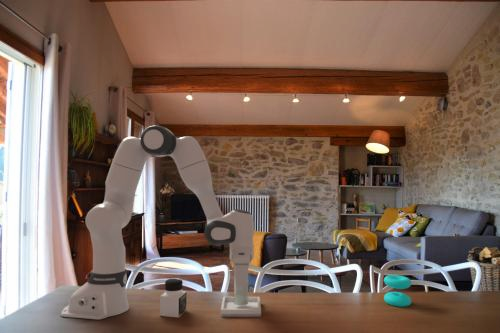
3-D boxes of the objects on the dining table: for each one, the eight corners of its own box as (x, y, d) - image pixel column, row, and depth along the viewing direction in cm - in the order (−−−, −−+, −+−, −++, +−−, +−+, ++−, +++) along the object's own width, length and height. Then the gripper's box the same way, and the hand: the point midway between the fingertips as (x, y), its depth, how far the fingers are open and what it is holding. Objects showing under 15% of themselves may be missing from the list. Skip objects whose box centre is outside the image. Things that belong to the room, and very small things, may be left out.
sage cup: (233, 305, 134) (234, 279, 135) (234, 300, 140) (234, 276, 140) (248, 305, 135) (248, 279, 135) (248, 300, 140) (248, 276, 140)
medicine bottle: (178, 318, 128) (179, 282, 129) (159, 316, 130) (160, 281, 130) (186, 310, 135) (187, 277, 136) (168, 309, 137) (168, 276, 137)
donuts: (387, 280, 142) (381, 273, 152) (387, 307, 142) (381, 298, 151) (415, 281, 141) (406, 274, 151) (415, 308, 141) (406, 299, 150)
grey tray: (220, 316, 130) (220, 309, 130) (223, 303, 144) (223, 296, 144) (261, 317, 130) (261, 309, 130) (259, 303, 144) (259, 296, 144)
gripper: (233, 248, 148) (233, 283, 148) (232, 259, 127) (231, 300, 127) (249, 248, 148) (249, 283, 148) (250, 260, 128) (250, 300, 127)
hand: (241, 291), depth 137 cm, fingers closed on sage cup, 5 cm apart
